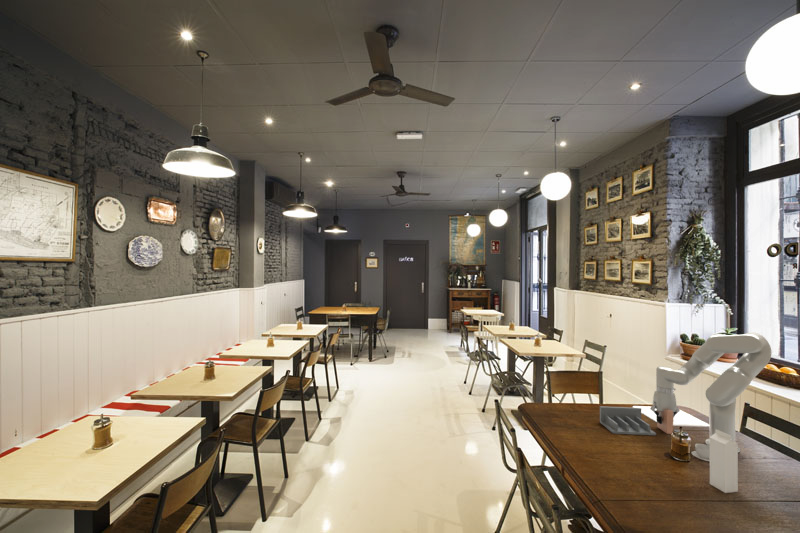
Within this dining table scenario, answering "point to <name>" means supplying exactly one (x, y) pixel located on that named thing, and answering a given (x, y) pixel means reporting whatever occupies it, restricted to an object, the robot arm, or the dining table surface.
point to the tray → (678, 420)
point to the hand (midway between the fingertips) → (664, 422)
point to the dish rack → (624, 421)
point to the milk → (723, 462)
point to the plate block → (666, 422)
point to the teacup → (702, 452)
